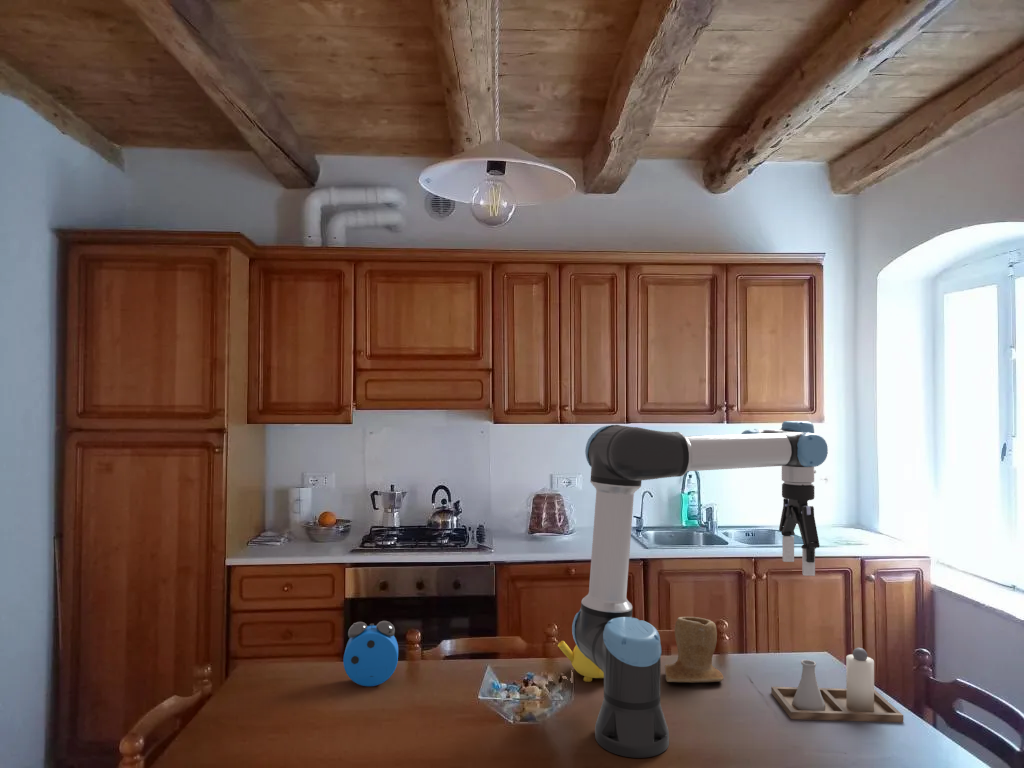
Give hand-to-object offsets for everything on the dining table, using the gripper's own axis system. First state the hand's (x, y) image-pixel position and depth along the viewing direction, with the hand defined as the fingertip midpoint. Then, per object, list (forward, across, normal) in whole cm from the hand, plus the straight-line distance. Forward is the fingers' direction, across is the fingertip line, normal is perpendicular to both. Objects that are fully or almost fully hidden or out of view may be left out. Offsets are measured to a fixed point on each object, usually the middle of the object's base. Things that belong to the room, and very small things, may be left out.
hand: (798, 568), depth 169 cm
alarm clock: (+29, -6, +106) cm, 110 cm away
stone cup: (+29, +2, +26) cm, 39 cm away
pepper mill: (+28, -14, -9) cm, 32 cm away
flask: (+28, -14, +3) cm, 32 cm away
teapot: (+29, +3, +51) cm, 59 cm away
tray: (+29, -14, -3) cm, 32 cm away
